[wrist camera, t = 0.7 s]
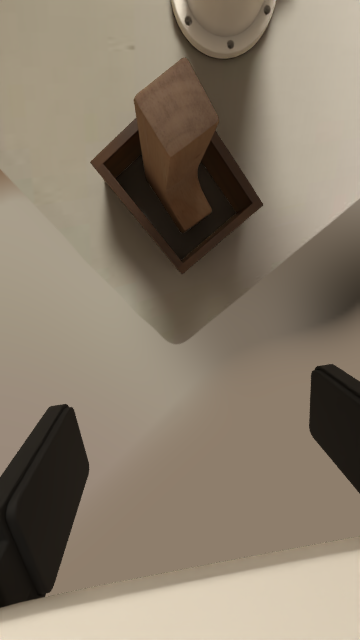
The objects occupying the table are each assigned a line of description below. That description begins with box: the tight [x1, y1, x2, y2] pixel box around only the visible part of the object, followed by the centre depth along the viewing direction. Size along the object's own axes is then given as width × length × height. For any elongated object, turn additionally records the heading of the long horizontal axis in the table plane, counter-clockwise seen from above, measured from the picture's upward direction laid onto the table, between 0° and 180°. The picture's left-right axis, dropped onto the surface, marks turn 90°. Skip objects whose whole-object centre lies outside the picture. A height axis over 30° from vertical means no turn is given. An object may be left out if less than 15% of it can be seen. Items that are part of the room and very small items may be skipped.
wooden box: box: [90, 118, 263, 274], centre depth 31 cm, size 13×16×7 cm
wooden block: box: [134, 57, 219, 233], centre depth 26 cm, size 9×4×18 cm, turn 35°
